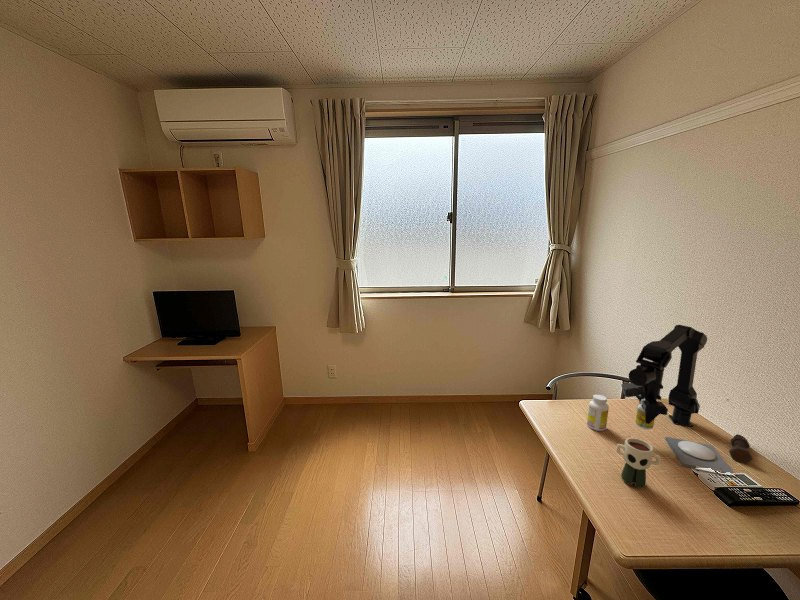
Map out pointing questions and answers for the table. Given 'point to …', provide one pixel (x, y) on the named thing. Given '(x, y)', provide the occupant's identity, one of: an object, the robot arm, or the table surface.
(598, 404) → the supplement bottle
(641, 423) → the supplement bottle
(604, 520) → the table surface
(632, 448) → the character mug
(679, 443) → the scale
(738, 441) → the bolt
